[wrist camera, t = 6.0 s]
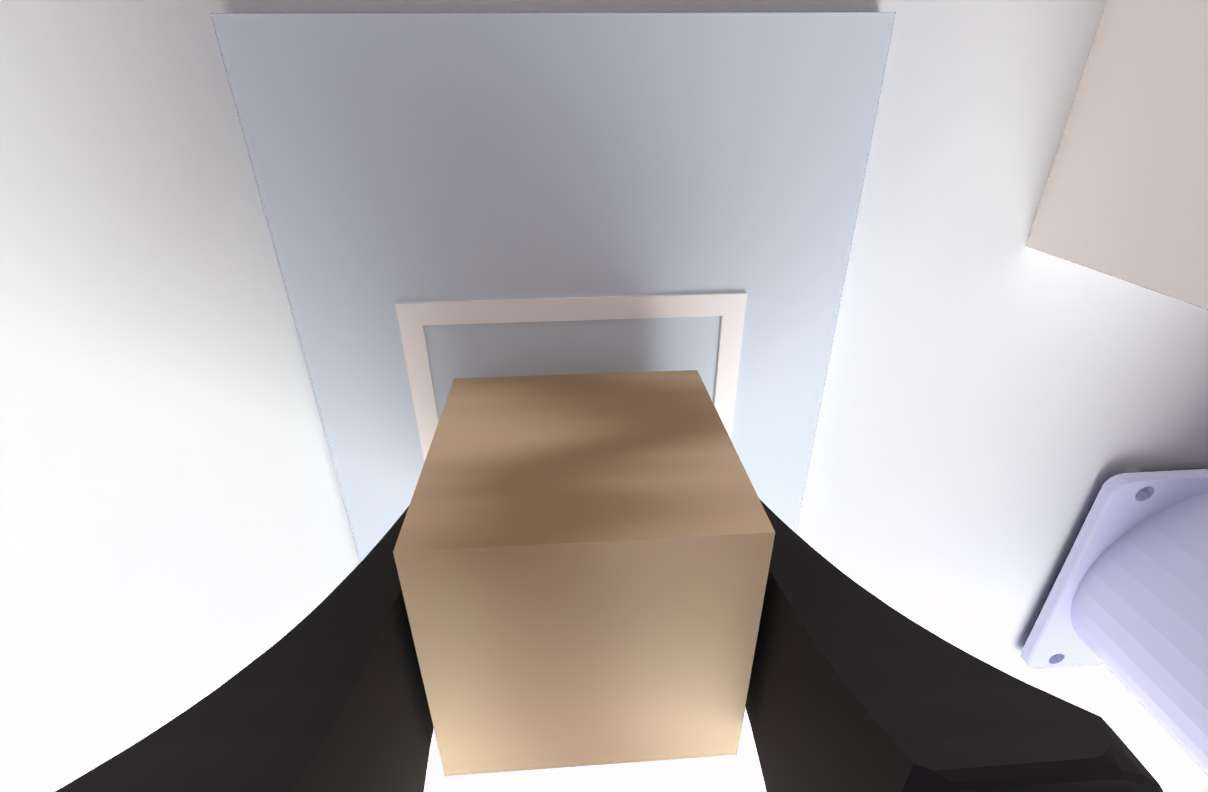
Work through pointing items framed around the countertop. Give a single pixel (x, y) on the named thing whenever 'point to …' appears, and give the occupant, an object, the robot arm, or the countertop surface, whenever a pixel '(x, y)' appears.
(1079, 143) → the top cube
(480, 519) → the base cube
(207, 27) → the countertop surface
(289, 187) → the board
